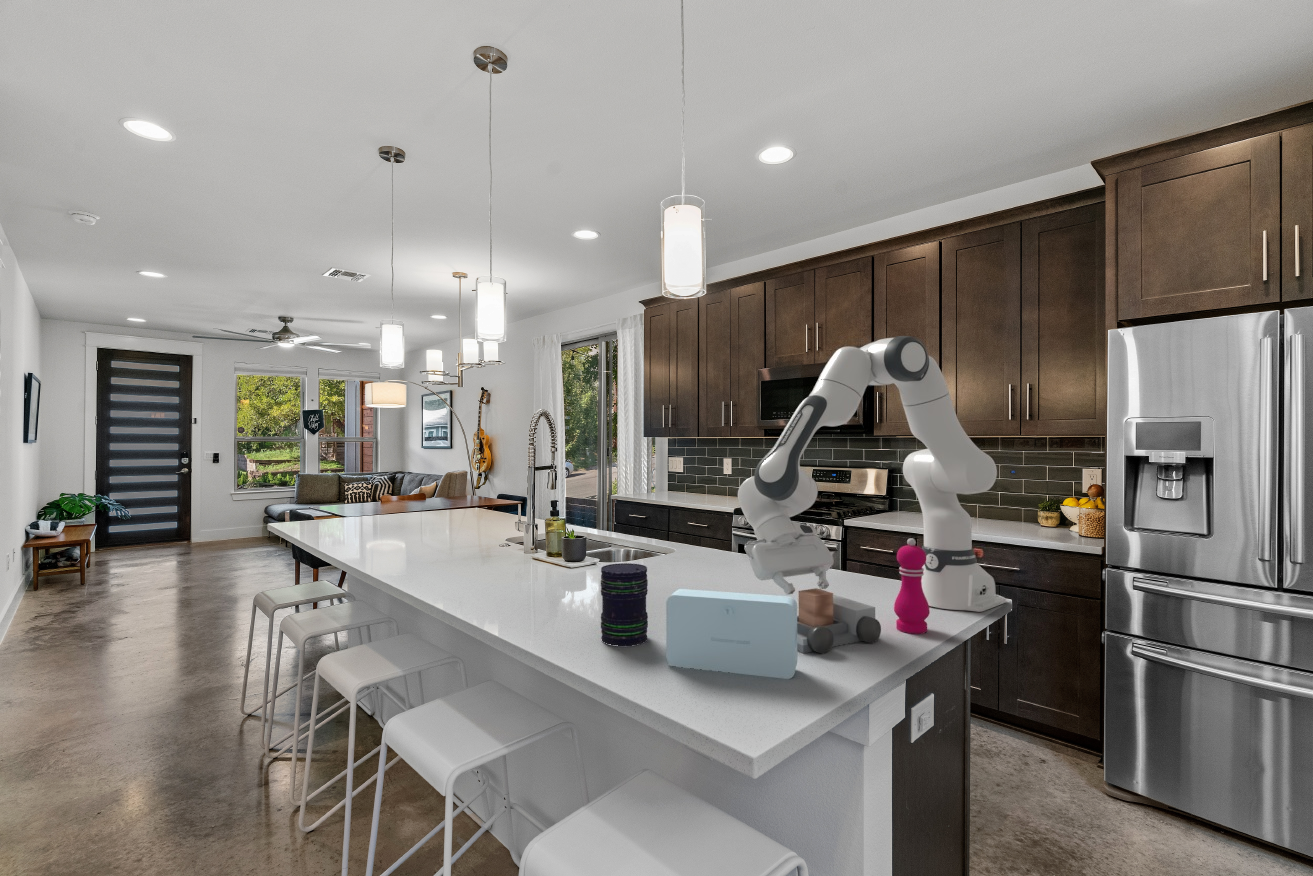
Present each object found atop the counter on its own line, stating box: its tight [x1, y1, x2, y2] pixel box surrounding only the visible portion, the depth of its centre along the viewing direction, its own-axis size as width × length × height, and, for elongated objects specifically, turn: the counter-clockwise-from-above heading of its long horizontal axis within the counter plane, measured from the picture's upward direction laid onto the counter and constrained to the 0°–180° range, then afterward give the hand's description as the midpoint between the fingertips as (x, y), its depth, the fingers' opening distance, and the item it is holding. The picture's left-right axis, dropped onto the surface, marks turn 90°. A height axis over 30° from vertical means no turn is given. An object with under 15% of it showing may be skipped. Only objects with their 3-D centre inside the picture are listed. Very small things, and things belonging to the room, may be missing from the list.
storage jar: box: [600, 562, 649, 647], centre depth 133 cm, size 10×10×15 cm
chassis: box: [797, 593, 882, 655], centre depth 134 cm, size 20×17×6 cm
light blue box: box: [665, 588, 798, 680], centre depth 116 cm, size 23×6×13 cm, turn 73°
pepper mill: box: [893, 537, 930, 635], centre depth 139 cm, size 7×7×20 cm
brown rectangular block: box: [798, 587, 834, 627], centre depth 134 cm, size 5×5×8 cm
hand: (808, 590), depth 136 cm, fingers open, 8 cm apart
